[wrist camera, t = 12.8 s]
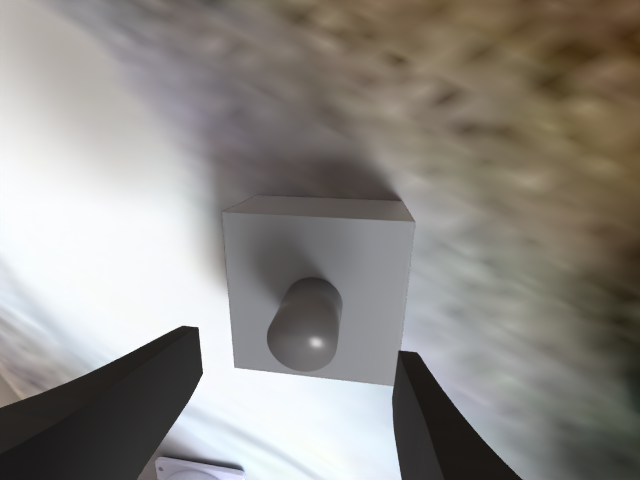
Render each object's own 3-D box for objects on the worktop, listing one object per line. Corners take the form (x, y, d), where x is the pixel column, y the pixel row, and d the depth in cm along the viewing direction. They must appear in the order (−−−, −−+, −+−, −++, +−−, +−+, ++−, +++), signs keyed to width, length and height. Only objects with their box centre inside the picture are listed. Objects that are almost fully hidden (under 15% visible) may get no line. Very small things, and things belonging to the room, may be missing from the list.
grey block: (389, 331, 20) (403, 440, 13) (262, 319, 21) (208, 413, 14) (402, 201, 18) (429, 244, 10) (256, 195, 19) (185, 230, 11)
